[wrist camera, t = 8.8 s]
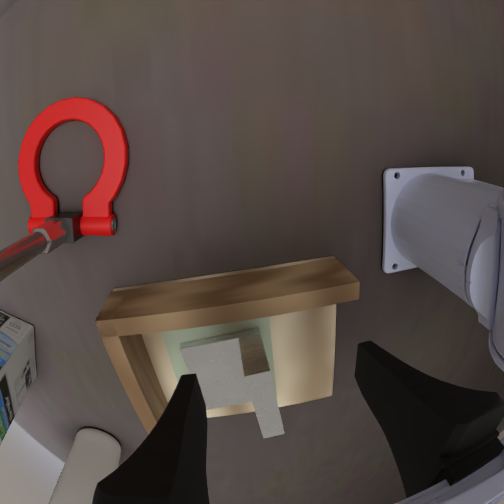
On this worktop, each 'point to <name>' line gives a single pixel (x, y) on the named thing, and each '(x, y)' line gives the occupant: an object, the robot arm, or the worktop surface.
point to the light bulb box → (14, 366)
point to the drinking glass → (86, 466)
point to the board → (275, 344)
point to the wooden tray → (207, 315)
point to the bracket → (235, 375)
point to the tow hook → (45, 204)
